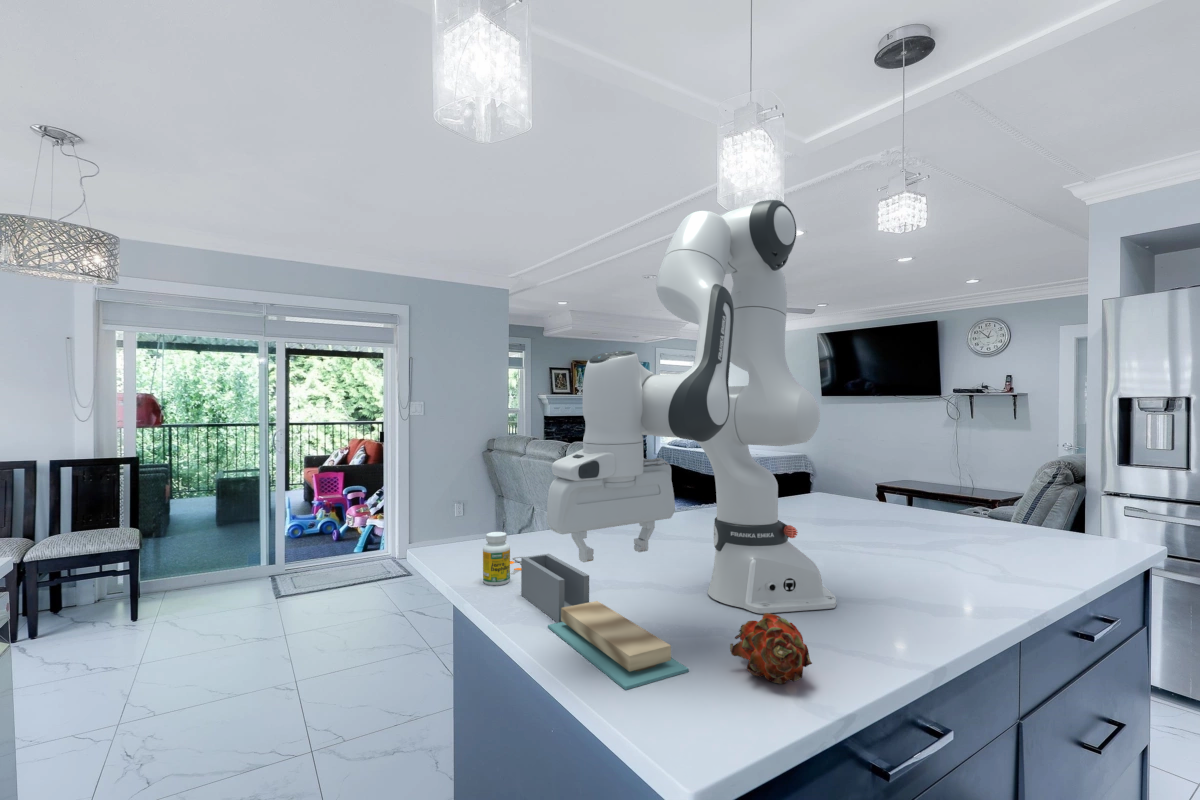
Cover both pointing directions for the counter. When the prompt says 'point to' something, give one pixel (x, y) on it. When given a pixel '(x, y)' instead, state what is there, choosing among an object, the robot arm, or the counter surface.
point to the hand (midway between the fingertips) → (614, 555)
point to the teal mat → (610, 665)
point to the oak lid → (616, 636)
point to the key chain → (516, 568)
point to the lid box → (552, 584)
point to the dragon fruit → (772, 649)
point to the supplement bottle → (496, 559)
